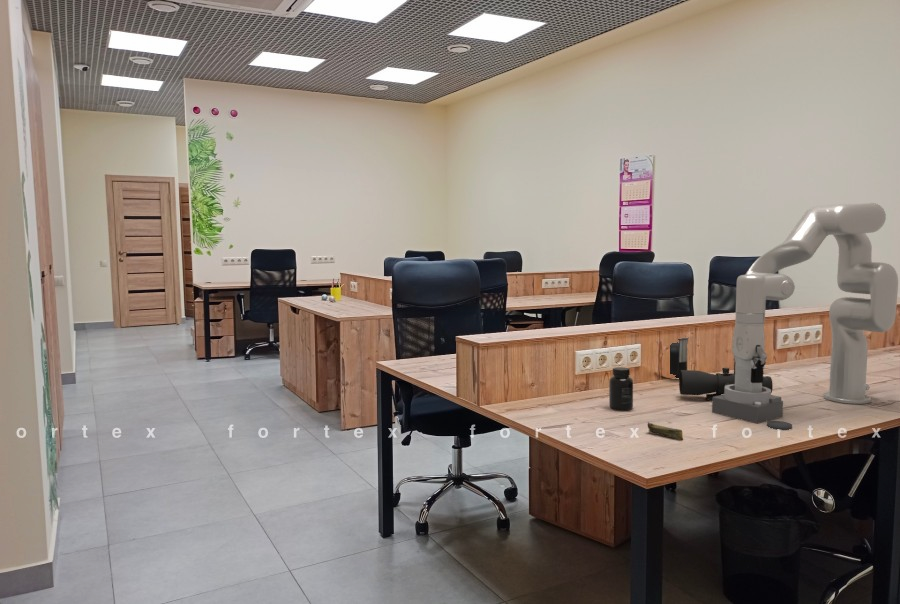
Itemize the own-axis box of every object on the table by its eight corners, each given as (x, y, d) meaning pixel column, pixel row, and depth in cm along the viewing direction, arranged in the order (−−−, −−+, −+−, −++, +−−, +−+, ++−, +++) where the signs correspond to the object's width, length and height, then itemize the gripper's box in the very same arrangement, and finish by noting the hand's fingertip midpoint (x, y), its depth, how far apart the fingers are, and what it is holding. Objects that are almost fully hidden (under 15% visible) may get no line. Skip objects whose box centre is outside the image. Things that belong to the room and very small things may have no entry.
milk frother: (657, 374, 242) (658, 334, 240) (701, 374, 241) (702, 334, 240) (669, 383, 228) (670, 340, 226) (715, 383, 227) (716, 340, 225)
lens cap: (774, 423, 178) (775, 419, 178) (796, 429, 173) (796, 424, 173) (762, 427, 175) (762, 422, 175) (783, 432, 170) (783, 428, 170)
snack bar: (683, 440, 163) (683, 429, 163) (680, 441, 162) (680, 430, 162) (649, 432, 170) (649, 421, 170) (645, 433, 169) (646, 422, 169)
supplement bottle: (633, 406, 196) (634, 367, 195) (632, 412, 190) (632, 371, 189) (610, 404, 198) (610, 365, 197) (607, 410, 192) (608, 370, 191)
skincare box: (762, 400, 184) (763, 358, 183) (751, 401, 182) (753, 359, 181) (743, 395, 190) (745, 354, 188) (733, 397, 188) (734, 356, 186)
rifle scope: (774, 405, 195) (775, 373, 194) (682, 402, 201) (683, 370, 200) (765, 397, 206) (766, 366, 205) (678, 394, 211) (678, 363, 210)
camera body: (737, 406, 195) (737, 381, 194) (782, 416, 183) (783, 390, 183) (712, 412, 189) (712, 386, 188) (757, 423, 177) (758, 396, 176)
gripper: (722, 315, 192) (721, 373, 193) (752, 323, 175) (750, 386, 176) (747, 315, 192) (745, 372, 194) (779, 322, 175) (777, 385, 177)
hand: (747, 378), depth 185 cm, fingers open, 9 cm apart
